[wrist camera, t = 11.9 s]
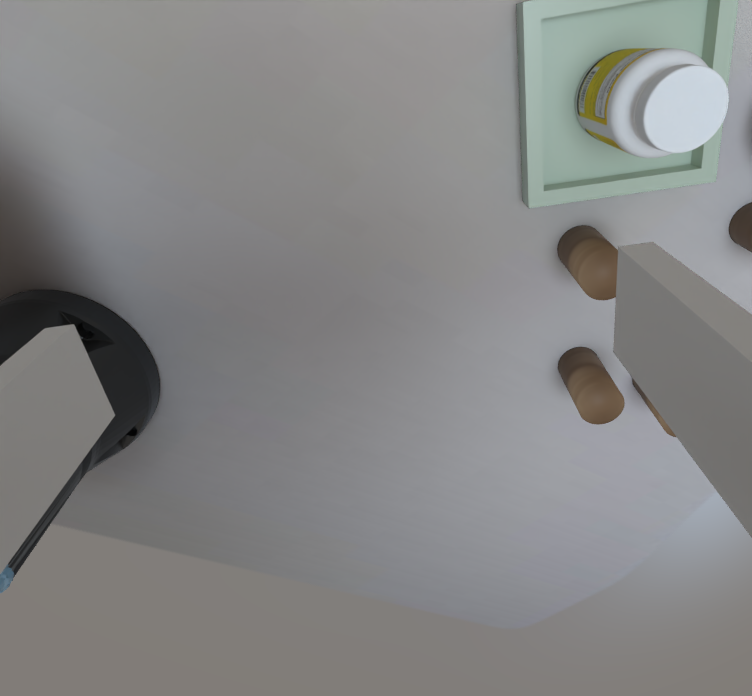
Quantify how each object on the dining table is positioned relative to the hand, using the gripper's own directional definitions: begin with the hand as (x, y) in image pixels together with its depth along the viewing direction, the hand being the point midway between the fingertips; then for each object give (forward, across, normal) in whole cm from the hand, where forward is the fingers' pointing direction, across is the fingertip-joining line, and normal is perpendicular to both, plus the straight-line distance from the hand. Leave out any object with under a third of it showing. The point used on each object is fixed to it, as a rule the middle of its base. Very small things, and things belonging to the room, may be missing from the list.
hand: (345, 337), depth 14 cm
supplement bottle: (+27, +16, +1) cm, 32 cm away
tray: (+28, +16, +1) cm, 32 cm away
